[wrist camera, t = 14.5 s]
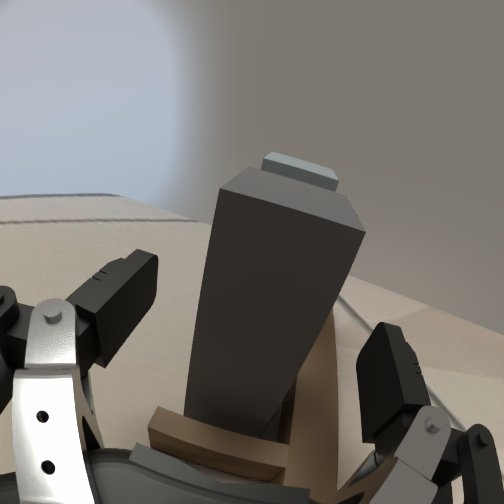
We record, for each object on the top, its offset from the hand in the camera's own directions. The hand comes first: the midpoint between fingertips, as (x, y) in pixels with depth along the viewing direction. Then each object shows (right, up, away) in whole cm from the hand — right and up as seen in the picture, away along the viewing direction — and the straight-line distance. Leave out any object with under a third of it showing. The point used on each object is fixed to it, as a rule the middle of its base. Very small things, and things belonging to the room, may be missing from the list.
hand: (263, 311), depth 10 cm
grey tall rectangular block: (-2, -6, +5) cm, 8 cm away
